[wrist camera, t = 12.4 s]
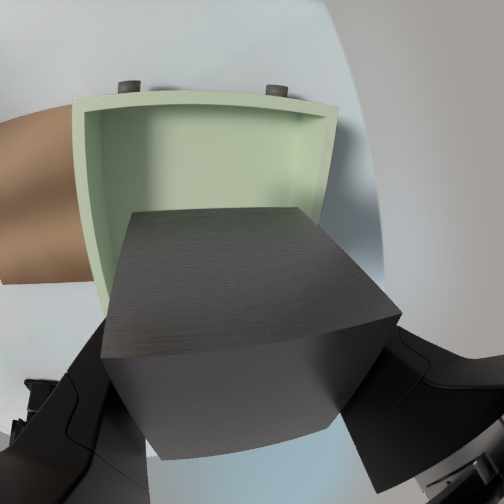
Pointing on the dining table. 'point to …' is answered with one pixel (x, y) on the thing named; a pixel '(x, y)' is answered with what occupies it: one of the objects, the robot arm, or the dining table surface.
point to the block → (238, 328)
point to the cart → (192, 158)
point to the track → (40, 201)
